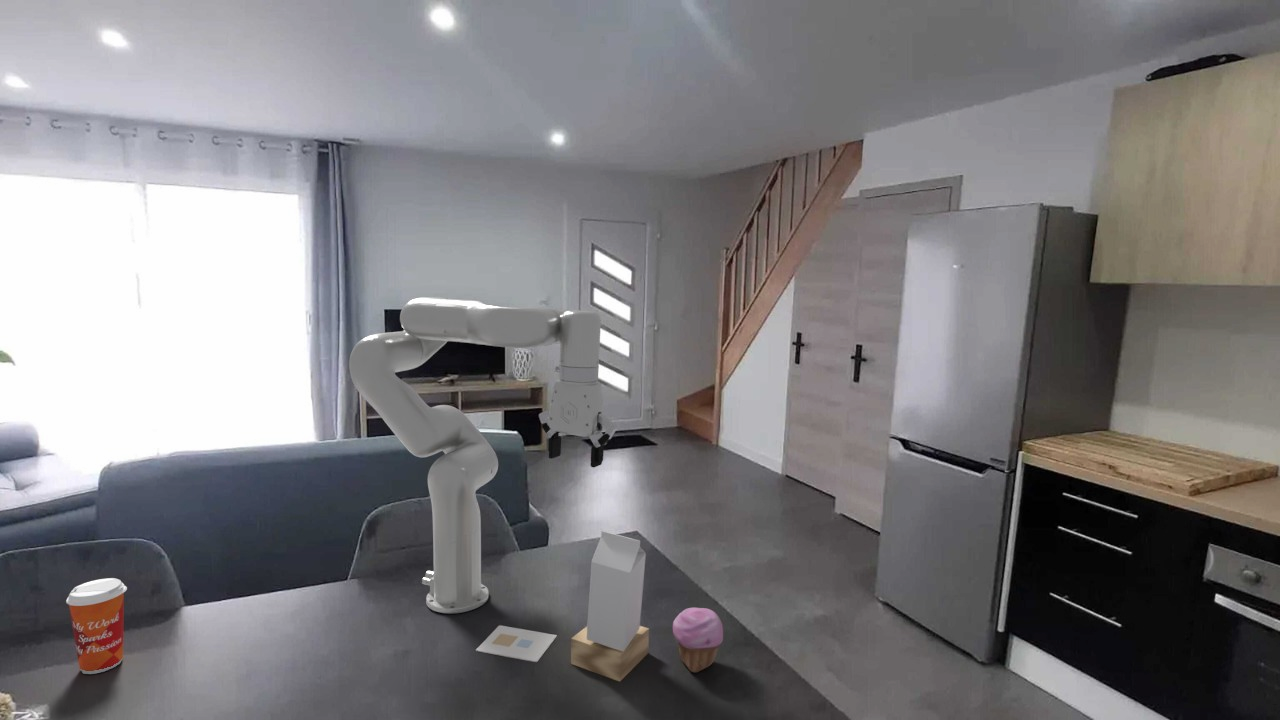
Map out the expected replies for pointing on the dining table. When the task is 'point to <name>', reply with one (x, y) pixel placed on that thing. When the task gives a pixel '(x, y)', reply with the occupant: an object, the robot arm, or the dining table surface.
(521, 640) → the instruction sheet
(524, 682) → the dining table surface
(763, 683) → the dining table surface
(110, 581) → the paper cup
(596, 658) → the oak brick
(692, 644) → the cupcake
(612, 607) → the milk carton
